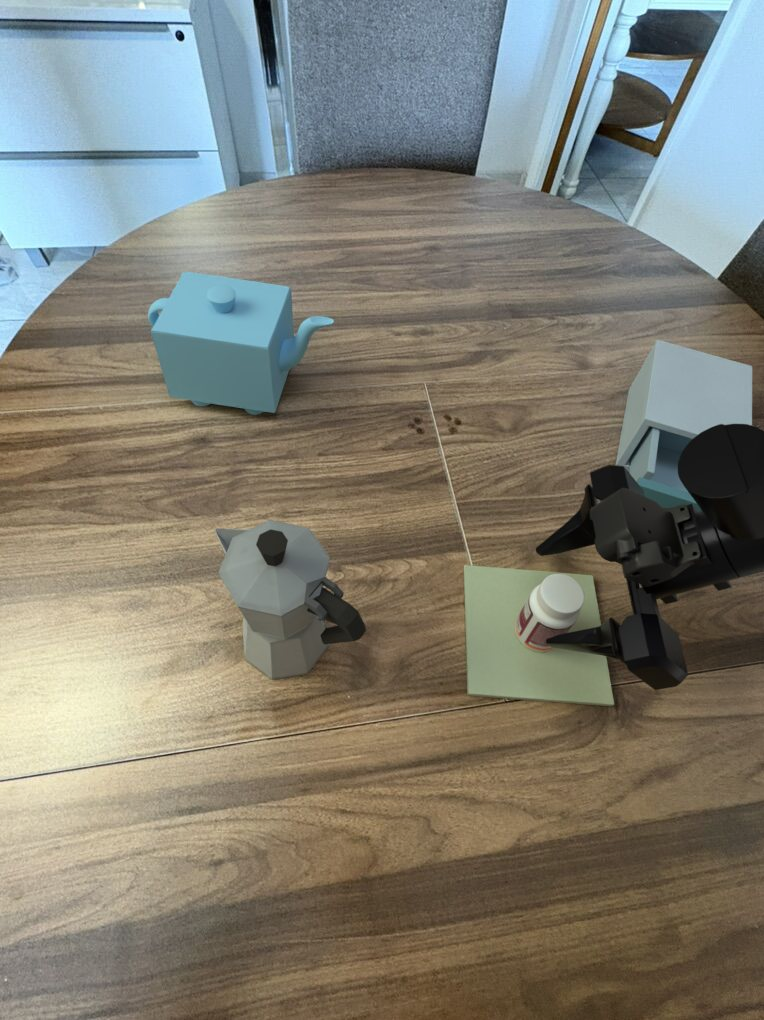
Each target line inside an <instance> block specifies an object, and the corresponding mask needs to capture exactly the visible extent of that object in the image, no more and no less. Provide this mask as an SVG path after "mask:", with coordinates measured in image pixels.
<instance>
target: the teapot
mask: <svg viewBox="0 0 764 1020" xmlns="http://www.w3.org/2000/svg"><path fill="white" fill-rule="evenodd" d="M292 296H293V295H292V288H291V286H286V285H280V284H273V283H268V282H260V281H254V280H247V279H241V278H234V277H227V276H220V275H213V274H208V273H207V274H206V273H200V272H192V271H186V270H185V271H184V270H183V271H182V274H181V275H180V277H179V280H178V281H177V283H176V285H175V286H174V288H173V290H172V292H171V293H170V295H169V297H161V298H159V299H157V300H154V302H152V304H151V305H150V307H149V309H148V312H147V319H148V322H149V324H150V326H151V327H152V328H151V329H150V335H151V339H152V341H153V344H154V348H155V352H156V355H157V358H158V362H159V365H160V369H161V372H162V376H163V380H164V382H165V386H166V389H167V393H168V396H169V398H173V399H178V400H179V399H180V400H185V401H186V400H187V401H191V402H192V404H193V405H195V406H198V407H207V406H209V405H211V404H212V405H218V406H224V407H225V406H226V407H233V408H238V409H239V408H240V409H244V411H245V412H246V413H248V414H250V415H260V414H262V413H265V412H266V413H272V414H275V413H276V411H277V408H278V405H279V402H280V399H281V396H282V393H283V390H284V387H285V384H286V381H287V378H288V375H289V372H290V370H291V369H293V368H295V367H296V366H297V365H298V364H299V363H301V361H302V359H304V356H305V354H306V351H307V350H308V346H309V344H310V340H311V338H312V337H313V335H314V334H315V332H317V330H319V329H322V328H324V327H328V326H331V325H333V324H334V322H335V320H334V319H333V318H331V317H328V316H323V315H316V316H310V317H308V318H306V319H304V320H303V321H302V322H301V324H300V325H299V327H298V330H297V332H296V334H295V333H294V332H295V331H294V330H295V329H294V314H293V312H294V311H293V297H292ZM159 312H160V314H159ZM294 334H295V335H294Z"/></svg>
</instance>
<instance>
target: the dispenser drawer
mask: <svg viewBox="0 0 764 1020" xmlns="http://www.w3.org/2000/svg"><path fill="white" fill-rule="evenodd" d="M691 440H692V439H691V438H688V437H685V436H681V435H678V434H675V433H671V432H668V431H665V430H661V429H658V428H655V427H651V426H649V428H648V429H647V431H646V432H645V434H644V436H643V437H642V439H641V440H640V442H639V444H638V445H637V447H636V448H635V450H634V451H633V453H632V458H631V464H630V471H629V473H630V475H631V476H632V477H633V478H634V479H635V481H636V482H637V483H638V484H639V485H640V487H641V488H642V489H643V491H644V495H645V497H647V498H649V499H651V500H653V501H655V502H657V503H658V504H659V505H660V506H661V507H662V508H674V507H677V506H680V505H689V504H692V505H693V506H694V507H695V509H696V510H697V511H701V509H700V507H699V506H698V504H697V503H696V502H695V500H694V499H693V498H692V496H691V495H690V494H689V492H688V491H687V489H686V488H685V487H684V485H683V484H682V482H681V480H680V479H679V476H678V462H679V458H680V455H681V453H682V452H683V450H684V448H685V447H686V446H687V444H688V443H689V442H690V441H691Z"/></svg>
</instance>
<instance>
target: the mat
mask: <svg viewBox="0 0 764 1020" xmlns="http://www.w3.org/2000/svg"><path fill="white" fill-rule="evenodd" d="M553 574H564V575H567V576H570V577H572V578H573V579H575V580H576V581H577V582H578V583H579V584H580V585H581V587H582V589H583V591H584V596H585V599H584V603H583V606H582V607H581V609H580V614H579V617H578V619H577V621H576V622H575V623H574V624H573V626H572V627H571V628H570V629H569V631H568V632H567V633H569V632H574V631H579V630H584V629H589V628H594V627H599V626H601V625H602V623H601V616H600V611H599V604H598V598H597V593H596V586H595V580H594V576H593V574H582V573H569V572H559V571H557V572H556V571H545V570H534V569H533V570H532V569H519V568H510V567H509V568H508V567H496V566H495V567H494V566H484V565H483V566H481V565H473V564H472V565H471V564H464V565H463V593H464V595H463V596H464V629H465V630H464V631H465V632H464V633H465V634H464V635H465V659H466V660H465V663H466V665H465V666H466V695H467V696H468V697H482V698H496V699H506V700H507V699H508V700H521V701H532V702H533V701H534V702H548V703H549V702H550V703H561V704H562V703H563V704H575V705H589V706H600V707H601V706H602V707H605V706H606V707H614V706H615V701H614V700H615V699H614V695H613V688H612V682H611V677H610V676H611V675H610V671H609V670H610V669H609V665H608V664H609V663H608V659H607V658H608V657H606V656H602V655H596V654H591V653H584V652H578V651H572V650H566V649H559V648H554V649H552V650H550V651H546V652H537V651H533V650H531V649H529V648H527V647H525V646H524V645H523V644H522V643H521V642H520V640H519V639H518V637H517V635H516V632H515V622H516V619H517V617H518V615H519V613H520V612H521V610H522V608H523V606H524V605H525V603H526V601H527V599H528V598H529V596H530V594H531V592H532V591H533V589H534V588H535V587H537V586H538V585H540V584H541V583H542V582H543V580H544V579H545V578H546V577H548V576H550V575H553Z"/></svg>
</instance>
